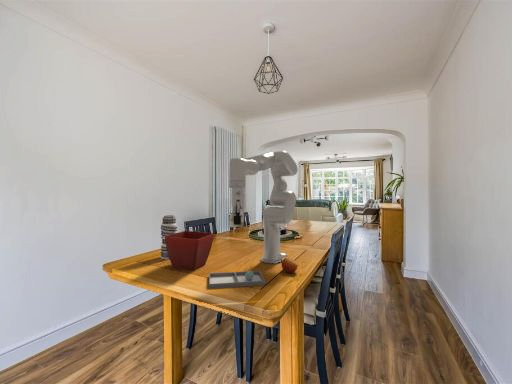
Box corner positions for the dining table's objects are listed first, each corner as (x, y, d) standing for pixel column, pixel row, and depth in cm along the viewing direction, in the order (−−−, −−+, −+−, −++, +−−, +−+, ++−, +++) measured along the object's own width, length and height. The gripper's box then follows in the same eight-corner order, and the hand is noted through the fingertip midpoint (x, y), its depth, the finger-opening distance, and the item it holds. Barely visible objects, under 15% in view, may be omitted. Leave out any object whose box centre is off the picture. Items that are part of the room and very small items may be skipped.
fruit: (276, 266, 121) (284, 253, 121) (289, 274, 121) (297, 261, 122) (279, 272, 113) (288, 258, 113) (292, 280, 113) (301, 266, 114)
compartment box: (259, 274, 112) (259, 270, 112) (265, 285, 100) (265, 281, 100) (209, 277, 108) (209, 273, 108) (208, 289, 95) (208, 284, 95)
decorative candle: (156, 257, 137) (157, 215, 137) (170, 254, 145) (171, 214, 145) (165, 260, 132) (166, 216, 132) (179, 257, 139) (180, 215, 139)
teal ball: (252, 278, 107) (252, 269, 107) (254, 281, 103) (254, 272, 103) (244, 278, 106) (244, 269, 106) (245, 281, 102) (245, 272, 102)
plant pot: (214, 262, 130) (215, 232, 130) (196, 274, 112) (197, 239, 112) (184, 259, 135) (185, 230, 135) (163, 269, 117) (163, 236, 117)
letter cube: (241, 225, 112) (242, 212, 112) (243, 227, 106) (243, 213, 106) (229, 225, 110) (229, 212, 110) (230, 227, 104) (230, 213, 104)
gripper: (248, 184, 100) (247, 226, 100) (242, 185, 117) (241, 221, 117) (230, 184, 99) (229, 226, 99) (227, 185, 116) (226, 221, 116)
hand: (236, 223), depth 108 cm, fingers closed on letter cube, 6 cm apart
